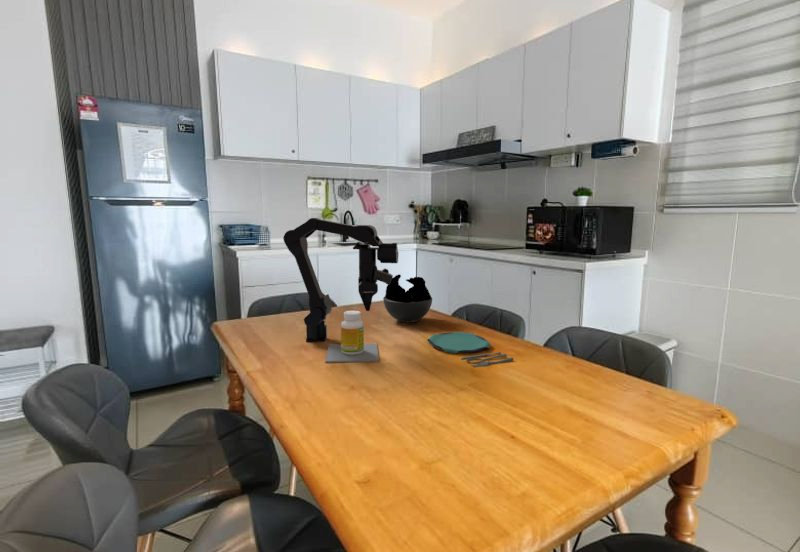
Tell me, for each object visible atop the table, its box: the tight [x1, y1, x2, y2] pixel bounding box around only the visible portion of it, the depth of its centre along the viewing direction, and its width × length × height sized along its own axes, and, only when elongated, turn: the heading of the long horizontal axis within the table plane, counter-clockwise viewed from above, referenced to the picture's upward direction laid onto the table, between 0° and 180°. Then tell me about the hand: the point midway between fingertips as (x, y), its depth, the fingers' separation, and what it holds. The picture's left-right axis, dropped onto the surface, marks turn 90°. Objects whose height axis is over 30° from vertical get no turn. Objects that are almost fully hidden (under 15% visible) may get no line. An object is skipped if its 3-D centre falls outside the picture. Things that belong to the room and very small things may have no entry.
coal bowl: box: [382, 274, 433, 323], centre depth 173 cm, size 20×20×19 cm
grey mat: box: [324, 343, 380, 364], centre depth 135 cm, size 16×16×1 cm
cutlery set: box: [427, 331, 514, 368], centre depth 139 cm, size 20×30×2 cm, turn 23°
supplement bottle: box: [340, 310, 365, 355], centre depth 134 cm, size 7×7×13 cm
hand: (367, 307), depth 145 cm, fingers open, 9 cm apart
